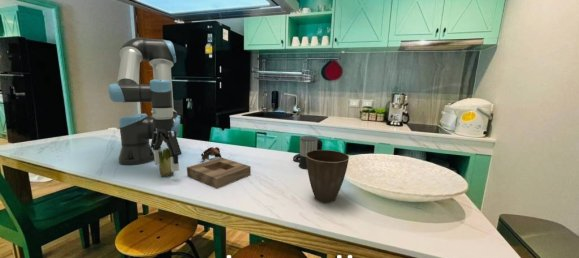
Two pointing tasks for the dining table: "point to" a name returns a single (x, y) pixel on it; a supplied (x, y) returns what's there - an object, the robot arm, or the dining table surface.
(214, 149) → the brown animal figurine
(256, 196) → the dining table surface
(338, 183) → the plant pot
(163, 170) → the fennel bulb
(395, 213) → the dining table surface
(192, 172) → the tray
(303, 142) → the milk frother
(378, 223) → the dining table surface
